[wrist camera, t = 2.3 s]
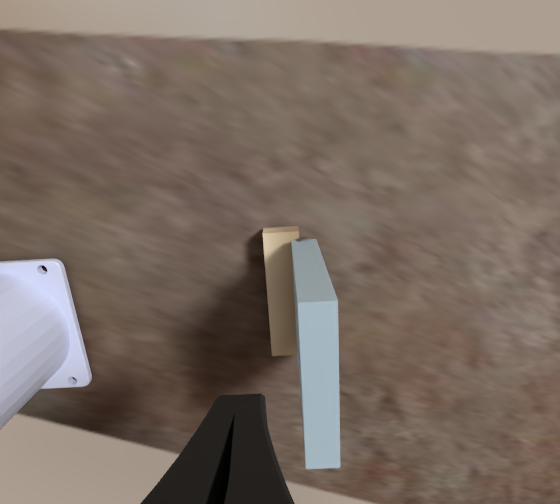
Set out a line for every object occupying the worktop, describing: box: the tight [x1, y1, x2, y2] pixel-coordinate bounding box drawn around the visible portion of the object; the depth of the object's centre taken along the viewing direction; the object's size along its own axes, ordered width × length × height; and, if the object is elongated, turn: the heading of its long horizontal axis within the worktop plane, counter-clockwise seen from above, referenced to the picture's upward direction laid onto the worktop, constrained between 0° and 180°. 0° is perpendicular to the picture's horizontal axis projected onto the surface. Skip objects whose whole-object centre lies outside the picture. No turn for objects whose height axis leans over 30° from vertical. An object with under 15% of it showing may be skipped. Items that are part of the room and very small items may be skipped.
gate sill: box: [263, 226, 299, 356], centre depth 19 cm, size 2×7×1 cm, turn 3°
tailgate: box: [291, 237, 340, 469], centre depth 15 cm, size 1×6×7 cm, turn 3°
